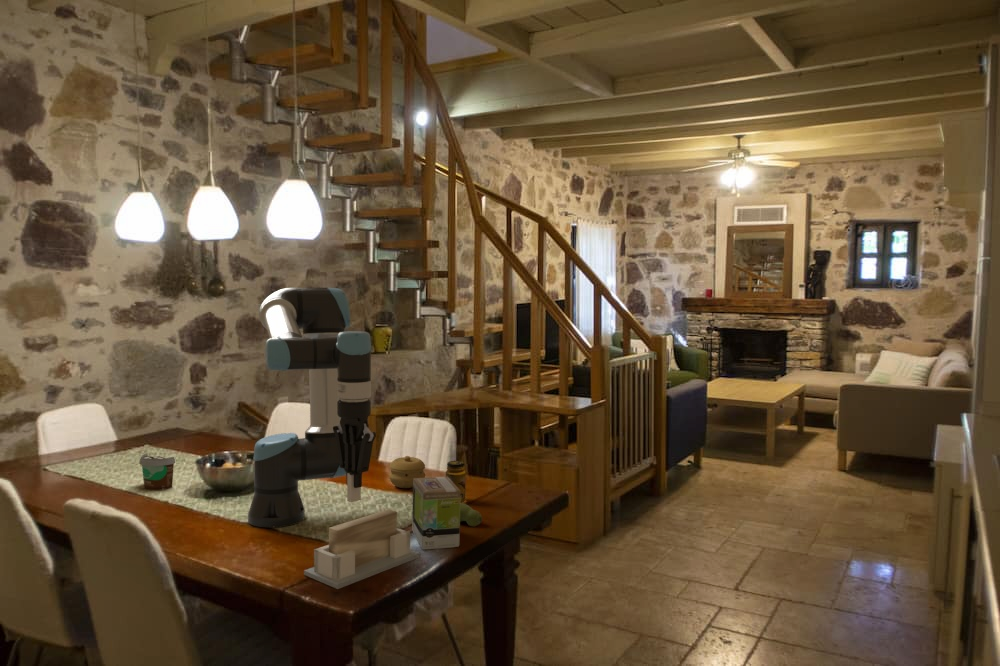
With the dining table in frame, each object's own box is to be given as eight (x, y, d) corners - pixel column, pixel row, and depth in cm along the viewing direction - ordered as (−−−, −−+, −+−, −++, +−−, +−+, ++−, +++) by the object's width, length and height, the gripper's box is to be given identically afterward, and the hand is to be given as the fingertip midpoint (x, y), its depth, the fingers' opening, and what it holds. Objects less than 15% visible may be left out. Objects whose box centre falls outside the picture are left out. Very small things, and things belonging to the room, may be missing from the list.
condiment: (470, 502, 226) (471, 463, 225) (446, 506, 221) (446, 467, 220) (458, 496, 232) (459, 458, 231) (434, 500, 227) (434, 461, 226)
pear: (457, 497, 211) (487, 509, 207) (454, 515, 212) (484, 527, 207) (446, 502, 206) (476, 514, 202) (443, 520, 207) (473, 532, 202)
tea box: (461, 547, 188) (461, 489, 187) (421, 551, 185) (421, 492, 184) (448, 528, 202) (448, 474, 201) (411, 531, 199) (411, 476, 198)
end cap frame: (303, 574, 169) (303, 548, 169) (386, 545, 189) (386, 522, 188) (337, 589, 162) (337, 562, 161) (420, 556, 181) (420, 532, 181)
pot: (431, 488, 241) (432, 457, 240) (399, 493, 234) (399, 462, 233) (414, 479, 250) (414, 450, 249) (382, 484, 243) (382, 454, 243)
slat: (329, 570, 169) (328, 527, 168) (388, 549, 183) (388, 509, 182) (337, 574, 167) (337, 530, 167) (396, 552, 181) (396, 511, 180)
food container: (130, 488, 236) (130, 457, 235) (146, 483, 241) (146, 452, 240) (160, 492, 231) (159, 461, 230) (175, 487, 237) (175, 456, 236)
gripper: (323, 397, 171) (323, 498, 173) (359, 404, 163) (359, 510, 165) (349, 394, 177) (349, 491, 179) (385, 400, 169) (385, 502, 170)
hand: (354, 500), depth 172 cm, fingers closed
